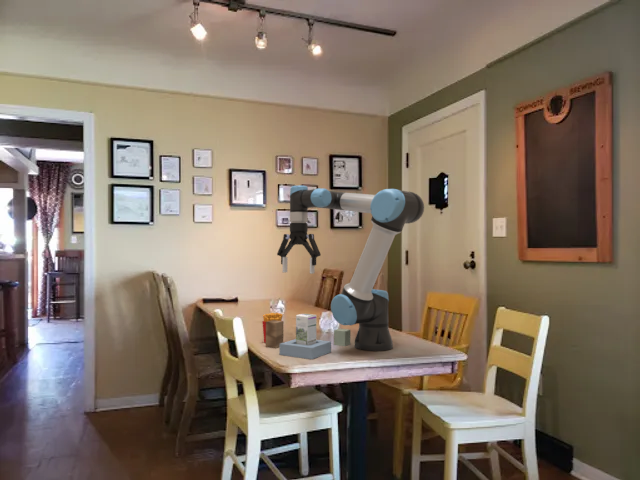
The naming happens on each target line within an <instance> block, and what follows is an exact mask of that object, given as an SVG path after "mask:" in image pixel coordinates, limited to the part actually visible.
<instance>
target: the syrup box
mask: <svg viewBox="0 0 640 480" xmlns="http://www.w3.org/2000/svg"><path fill="white" fill-rule="evenodd" d="M295 339H296V344H300V345H308V346H310V345H313V344H316V340H317V314H311V313H300V314H296V315H295Z"/></svg>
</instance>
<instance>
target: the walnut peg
mask: <svg viewBox="0 0 640 480" xmlns="http://www.w3.org/2000/svg"><path fill="white" fill-rule="evenodd" d="M281 343H284V320H282V321H277V320H272V321H267V322H266V343H265V348H271V349H280V344H281Z"/></svg>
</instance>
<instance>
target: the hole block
mask: <svg viewBox="0 0 640 480" xmlns="http://www.w3.org/2000/svg"><path fill="white" fill-rule="evenodd" d="M278 349H279V351H278V352H279V356H287V357H292V358H300V359H306V360H315V359H317V358H320V357H322V356H325V355H328V354H329V353H332V340H331V341H330V340H321V339H316V344H313V345H310V346H308V345H300V344H296V338H294V339H291V340H288V341H285V342H284V341H283V343H281V344H280V347H279V348H278Z"/></svg>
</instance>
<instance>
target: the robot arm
mask: <svg viewBox="0 0 640 480" xmlns="http://www.w3.org/2000/svg"><path fill="white" fill-rule="evenodd" d="M289 191H290V192H289V222H290V223H289V234H287V233H284V234H283V237H282V241H281V244H280V246H279V248H278V251H277V253H276V255H277V256H279V257H281V258H280V264H281V265H282V268H281V269H282V273H288V261H289V260H288V258H289V257H287V256H288V254H289V253H290V251H291V250H292V249H293V247H294V246H295V245H297V246H298V245H302V246H304V248H305V250H306V251H307V252H308V254H309V256H310V257H309V274H315V272H316V269H315V268H316V267H315V266H317V258H318V257H321V252H320V249H319V247H318V244H317V243H316V240H315V234H314V233H308V231H309V230H308V228H309V227H308V223H307V222H308V220H309V219H308V215H309V213H308V212H309V209H311V208H312V209H313V208H314V209H315V208H318V209H331V210H337V211H348V212H357V213H365V214H371V216H372V217H371V220H370V221H371V224H372V227H371V231H369V235H368V237H367V240H366V242H365V246H364V248H363V250H362V253H361V255H360V257H359V260H358V262H357V265H356V267H355V270H354V272H353V275H352V277H351V280H350V282H349V283H345V284H344V286H343V289H342V291H341V293H339V294H337V295H335V296H334V297H333V298H332V300H331V303H330V311H331V313H332V316H333V319H334V320H335V321H336V323H338V324H340V325H341V326H353V325H356V324H357V325H358V330H357V333H356V336H355V338H354V348H356V349H357V350H358V349H359V350H363V351H371V352H375V351H378V352H379V351H380V352H381V351H388V350H392V349H393V347H394V346H393V343H394V342H393V339H392V336H391V332H390V328H389V302H390V299H389V292H388V291H387V290H383V289H375V288H374V286H375V285H376V282H377V279H378V277H379V274H380V272H381V269H382V267H383V265H384V263H385V261H386V259H387V255H388V253H389V252H390V251H389V250H391V246H392V244H393V241H394V239H395V236H396V235H398V234H400V233H402V231H403V229H404V227H405V224H414V223H416V222H417V221H419V220H420V219H421V218H422V216H423V215H424V212H425V203H424V200H423V199H422V198H421V196H420V195H419V194H417V193H415V192H413V191H406V190H401V189H396V188H385V189H382V190H379V191H378V192H377V193H376V194H370V193H369V194H367V193H358V192H357V193H355V192H345V191H344V192H342V191H332V190H329V189H327V188H322V187H321V188H320V187H318V188H313V189H309V187H308V186H307V185H291V187H290V190H289ZM308 241H309V242H308Z"/></svg>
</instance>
